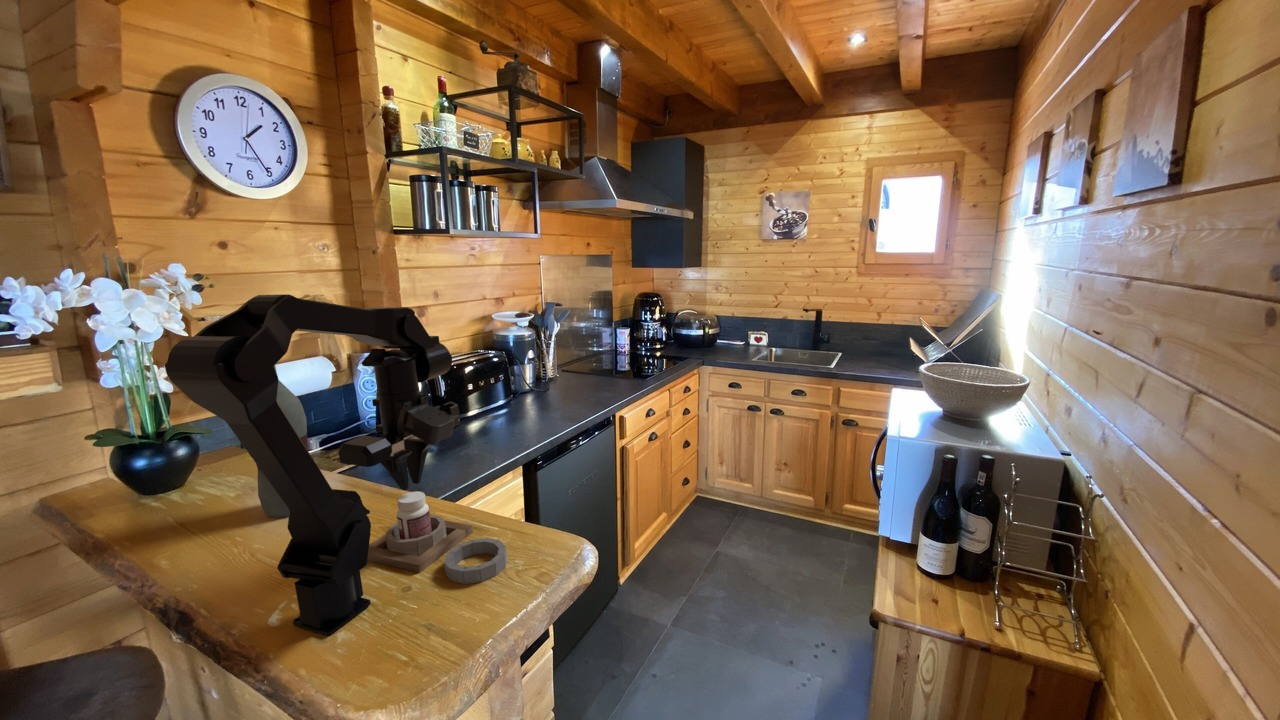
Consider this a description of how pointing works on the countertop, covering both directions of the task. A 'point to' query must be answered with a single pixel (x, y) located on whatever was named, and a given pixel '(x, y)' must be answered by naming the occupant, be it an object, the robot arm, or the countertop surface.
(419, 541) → the socket board
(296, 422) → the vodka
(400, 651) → the countertop surface
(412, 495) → the pill bottle
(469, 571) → the holder
